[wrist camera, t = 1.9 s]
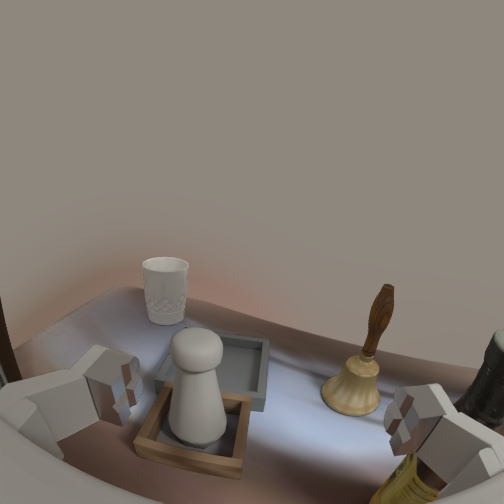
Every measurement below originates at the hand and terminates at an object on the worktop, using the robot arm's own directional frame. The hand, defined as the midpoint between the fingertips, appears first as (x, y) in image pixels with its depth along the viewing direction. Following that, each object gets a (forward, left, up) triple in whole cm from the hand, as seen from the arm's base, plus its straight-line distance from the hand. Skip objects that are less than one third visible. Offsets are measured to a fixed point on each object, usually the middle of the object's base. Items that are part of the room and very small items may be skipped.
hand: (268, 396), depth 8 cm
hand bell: (-13, -21, -19) cm, 31 cm away
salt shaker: (+5, -12, -19) cm, 24 cm away
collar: (+5, -12, -19) cm, 23 cm away
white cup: (+17, -36, -19) cm, 45 cm away
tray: (+5, -24, -19) cm, 31 cm away
